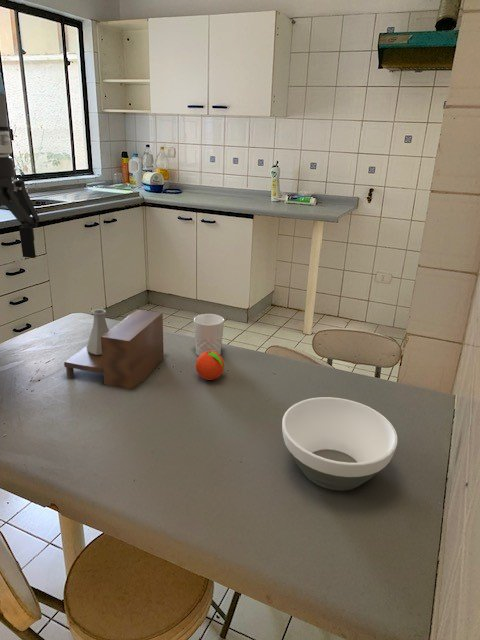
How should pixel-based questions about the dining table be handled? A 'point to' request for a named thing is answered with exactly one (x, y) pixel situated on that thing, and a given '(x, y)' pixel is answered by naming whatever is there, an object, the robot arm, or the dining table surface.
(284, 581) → the dining table surface
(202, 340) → the white cup
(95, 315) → the flask
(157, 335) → the shelf
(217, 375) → the clementine
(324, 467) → the bowl
